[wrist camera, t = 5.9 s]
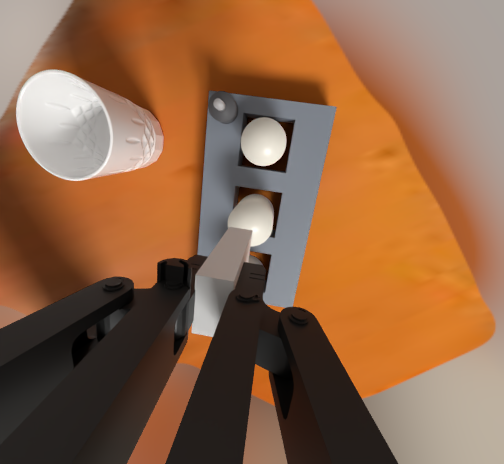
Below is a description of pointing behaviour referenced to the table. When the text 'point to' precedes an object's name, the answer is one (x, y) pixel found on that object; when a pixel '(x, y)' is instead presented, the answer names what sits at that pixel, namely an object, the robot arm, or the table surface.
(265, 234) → the white oval solid
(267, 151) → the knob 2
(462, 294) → the table surface
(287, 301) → the grey egg holder
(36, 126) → the white cup
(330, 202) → the table surface
